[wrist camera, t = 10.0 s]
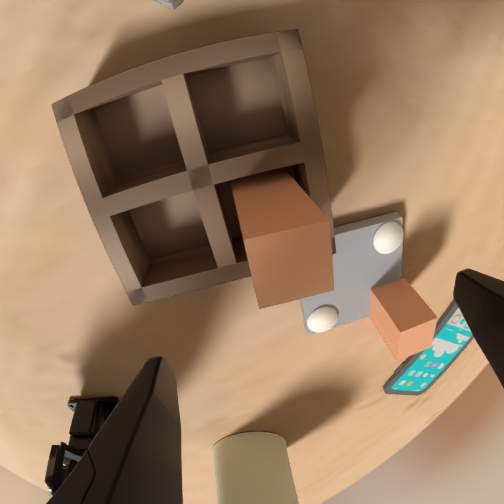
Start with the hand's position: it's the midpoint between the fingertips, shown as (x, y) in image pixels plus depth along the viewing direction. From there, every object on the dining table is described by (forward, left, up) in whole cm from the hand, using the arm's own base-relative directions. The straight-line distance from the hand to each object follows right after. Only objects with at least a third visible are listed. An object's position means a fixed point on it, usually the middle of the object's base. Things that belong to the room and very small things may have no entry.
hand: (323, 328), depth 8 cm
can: (-31, +8, -13) cm, 34 cm away
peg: (0, 0, -11) cm, 11 cm away
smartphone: (-22, -16, -13) cm, 30 cm away
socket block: (+3, +3, -12) cm, 13 cm away
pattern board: (-8, -5, -12) cm, 16 cm away
